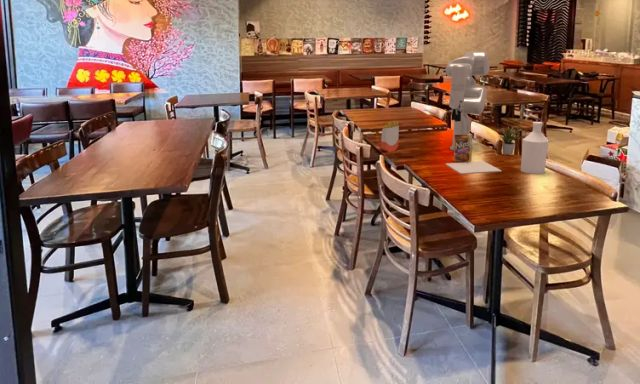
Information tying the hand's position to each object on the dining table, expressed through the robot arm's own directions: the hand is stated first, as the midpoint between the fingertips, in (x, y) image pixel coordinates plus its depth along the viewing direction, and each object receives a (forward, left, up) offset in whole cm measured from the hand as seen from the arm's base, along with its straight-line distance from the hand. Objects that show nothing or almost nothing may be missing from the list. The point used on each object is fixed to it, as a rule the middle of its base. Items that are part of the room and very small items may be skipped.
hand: (455, 120), depth 288 cm
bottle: (+37, +27, -22) cm, 51 cm away
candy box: (+12, 0, -21) cm, 24 cm away
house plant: (0, +34, -22) cm, 40 cm away
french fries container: (-25, -31, -22) cm, 45 cm away
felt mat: (+25, 0, -21) cm, 33 cm away
